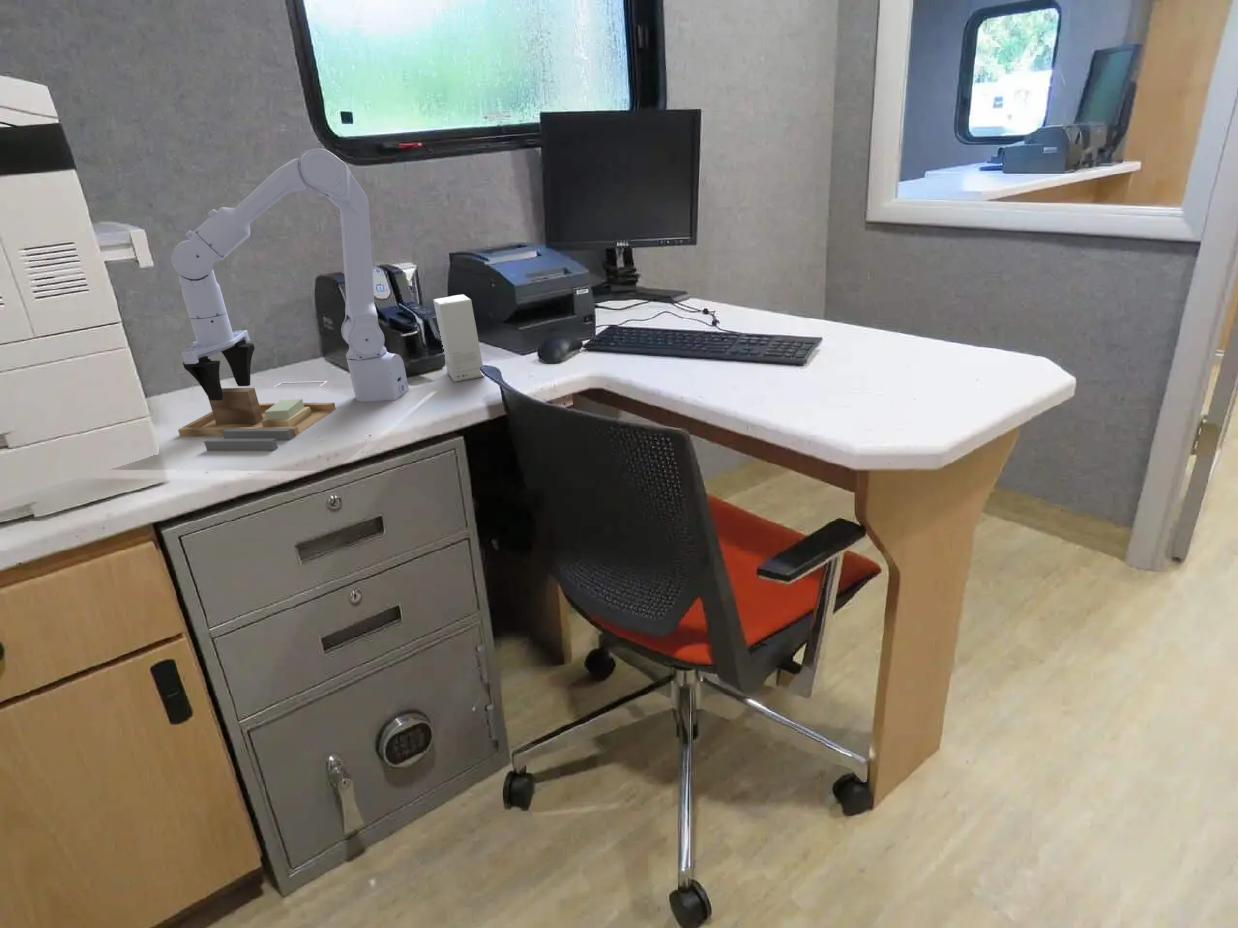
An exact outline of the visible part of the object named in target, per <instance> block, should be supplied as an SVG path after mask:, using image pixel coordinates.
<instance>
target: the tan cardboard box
mask: <svg viewBox="0 0 1238 928" xmlns="http://www.w3.org/2000/svg"><path fill="white" fill-rule="evenodd" d="M221 388H222V393H223V399H222V400H214V401H210V399H209V398H208V397H207V399H208V401H209V405H210V407H211V412H213V415H214V418H215V421H216V424H258V423H259V422H261V421H262V420H263V417H262V413H261V409H260V406H259V399H258V395H257V392H256V389H255V387H227V388H225V387H221Z"/></svg>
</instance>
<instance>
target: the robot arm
mask: <svg viewBox="0 0 1238 928" xmlns="http://www.w3.org/2000/svg"><path fill="white" fill-rule="evenodd" d="M305 185H306V186H308V187H310V188H311V189H313V190H314V191H317V192H320V193H321V194H323V195H324V196H325V197H326V198H327V199H328V200H329V201H330V202H331V203H333V204H334V205H335V206H336V207H337V208H338V209H339V212H340V213H339V214H340V227H341V228H340V230H341V244H342V245H341V247H342V258H343V270H344V271H343V272H344V288H345V308H344V312H345V315H344V316H345V317H344V320H343V322H342V324H341V328H340V331H341V336H342V339H343V340H344V342H345V343H346V344H347V345H348V347H349V348H348V350H347V352H346V354H345V357H346V362H347V366H348V370H349V375H350V376H349V377H350V379H351V384H352V389H353V392H354V393H353V394H354V396H355V400H356V401H359V402H363V403H365V402H375V401H376V402H377V401H397V400H398V399H399V398H400V397H402V396H403V395H404V394H406V393H407V392H408V391H410V388H409V384H408V383H409V382H408V378H407V373H406V368H405V363H404V359H403V358H402V356H401V355H400V354H397V353H391V352H388V350H387V347H386V346H385V342H386V341H385V334H384V332H383V330H382V329H381V327H380V324H379V317H378V312H377V308H376V304H375V295H374V293H375V292H374V291H375V289H374V275H373V259H372V257H373V256H372V255H373V254H372V241H371V240H372V238H371V221H370V207H369V198H368V196H367V194H366V192H364V190H363V189H362V186H360V183H359V182H358V181H357V180H356V178H355V177H354V175H353V174H352V172H351V170H350V168H349V167H348V165H347V164H346V163H345V162H344V161H343V160H341V158H339V157H338V156H336V154H334V153H332V152H331V151H329V150H328V149H325V148H312V149H306V150H304V151H302V152H301V153H300V155H299V156H298V157H297V158H293V159H291V160H290V161H288V162H286V163H284V164H283V165H281V166H280V167H279V168H277V169H275V170H274V171H273V172H272V173H271V174H270V175H269V176H268V177H267V178H266V179H265V180H263V181H262V182H261V183H260V184H259V185H257V187H256V188H255V189H254V190H252V191H251V192H250V194H248V195H247V196H246V197H245V198H244V199H243V200H242V201H241V202H240V203H239V204H237V205H236V206H235V207H228V206H227V207H226V206H221V207H220V208H219V209H217V210H216V209H214V208H213V209H211V210H210V211H209V212H207V216H208V218H207V219H206V220H204V222H202V224H200V225H199V226H198V227H197V228H196V229H195V230H193V231H192V230H188V231H187V232H186V233H185V236H186V237H187V238H188V239H187V240H182V241H181V242H179V243H177V245H175V246H174V248H173V250H172V252H171V259H170V260H171V261H170V262H171V265H172V266H173V268H174V270H175V272H176V273H178V282H179V285H180V286H181V294H182V297H183V301H184V304H185V307H186V310H187V314H188V318H189V320H190V324H191V327H192V331H193V333H194V338H195V341H193V342H192V346H191V347H189V348H188V349H186V350H184V351H182V352H181V356H182V359H183V362H182V366H183V368H184V369H185V371H187V372H188V373H189V374H190V375H191V376H192V377H193V378H194V379H195V380H196V381H197V383H198V384H199V385H200V386H201V388H202V390H203V391H204V393H205V394H206V396H207V399H208V398H209V399H210V401H214V400H222V399H223V393H222V388H223V387H222V384H221V377H220V365H221V361H220V360H212V359H211V358H209V357H211V356H213V355H217V354H218V353H222V355H223V357H224V358H225V360H226V362H227V363H228V366H229V367H230V369H231V372H232V376H233V377H234V381H235V383H236V384H237V387H250V386H251V365H252V358H253V354H254V352H255V344H254V343H253V342H250V341H251V338H250V335H249V331H248V330H247V329H244V330H241V329H240V330H239V329H238V330H235V331H233V328H232V325H231V322H230V318H229V315H228V312H227V308H226V305H225V300H224V297H223V293H222V290H221V286H220V284H219V283H218V282H217V278H216V275H215V271H214V263H215V262H216V261H222V260H223V259H225V258H226V257H228V255H230V254H231V253H232V252H233V251H234V250H235V249H236V248H237V247H239V246H240V245H241V244H242V243H243V242H244V241H245V240H247V239H248V238H249V237H250V236H251V223H253V222H254V221H255V220H256V219H258V218H259V216H261V215H262V214H263V213H265V212H266V211H267V210H269V208H270V207H272V206H274V205H275V204H276V203H277V202H278V201H280V200H281V199H282V198H283V197H284V196H286V195H287V194H289V193H290V194H291V193H295V192H301V191H302V192H303V191H306V190H307V188H306V186H305ZM248 342H249V343H248ZM209 399H208V400H209Z"/></svg>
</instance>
